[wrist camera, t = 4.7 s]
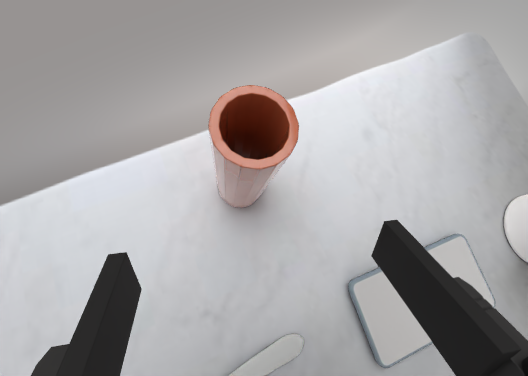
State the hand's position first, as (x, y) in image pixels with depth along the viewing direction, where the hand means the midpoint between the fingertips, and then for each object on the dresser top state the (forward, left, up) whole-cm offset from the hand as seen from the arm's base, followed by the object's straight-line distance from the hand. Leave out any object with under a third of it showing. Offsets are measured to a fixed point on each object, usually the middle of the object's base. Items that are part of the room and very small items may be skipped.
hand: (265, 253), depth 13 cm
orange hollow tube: (+1, +6, -12) cm, 13 cm away
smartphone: (+16, -10, -12) cm, 22 cm away
